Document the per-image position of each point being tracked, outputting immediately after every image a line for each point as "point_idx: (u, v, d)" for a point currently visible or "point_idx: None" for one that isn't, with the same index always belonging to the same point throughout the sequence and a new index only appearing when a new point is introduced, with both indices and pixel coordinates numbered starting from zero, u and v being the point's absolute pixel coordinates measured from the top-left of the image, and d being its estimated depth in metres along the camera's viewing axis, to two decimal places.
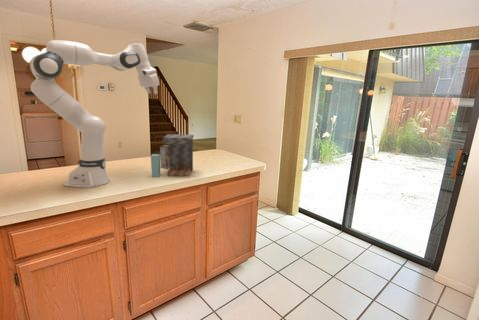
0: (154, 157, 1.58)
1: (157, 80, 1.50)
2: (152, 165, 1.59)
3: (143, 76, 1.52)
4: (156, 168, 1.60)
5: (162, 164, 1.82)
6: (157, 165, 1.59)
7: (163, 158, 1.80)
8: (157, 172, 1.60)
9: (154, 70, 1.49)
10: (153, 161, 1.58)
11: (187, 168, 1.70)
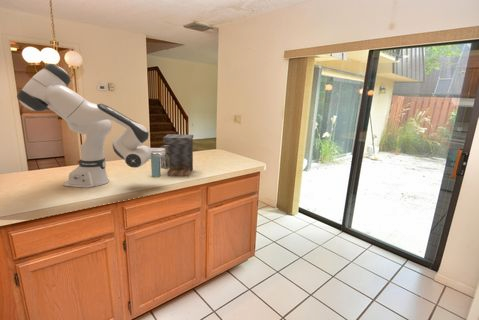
0: (154, 157, 1.58)
1: None
2: (152, 165, 1.59)
3: None
4: (156, 168, 1.60)
5: (162, 164, 1.82)
6: (157, 165, 1.59)
7: (163, 158, 1.80)
8: (157, 172, 1.60)
9: None
10: (153, 161, 1.58)
11: (187, 168, 1.70)
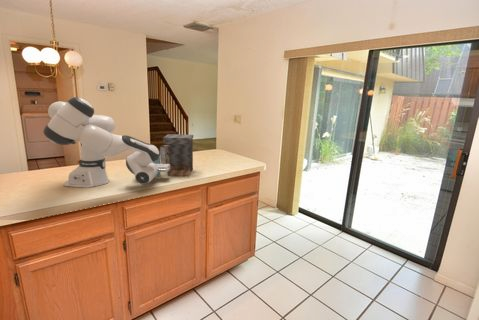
0: None
1: None
2: None
3: None
4: None
5: None
6: None
7: (163, 158, 1.80)
8: None
9: None
10: None
11: (187, 168, 1.70)
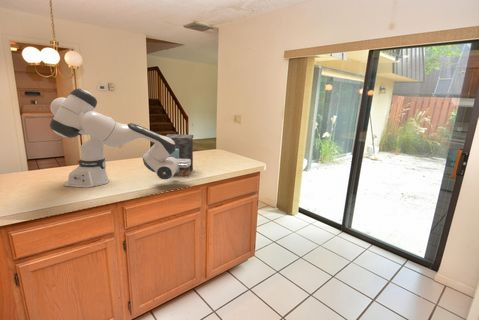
0: (173, 152, 1.48)
1: None
2: None
3: None
4: None
5: None
6: None
7: None
8: None
9: None
10: (173, 156, 1.48)
11: (187, 168, 1.70)
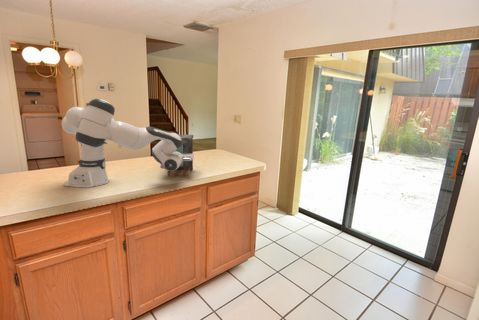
0: None
1: None
2: None
3: None
4: None
5: (162, 164, 1.82)
6: None
7: None
8: None
9: None
10: (177, 151, 1.63)
11: (187, 168, 1.70)
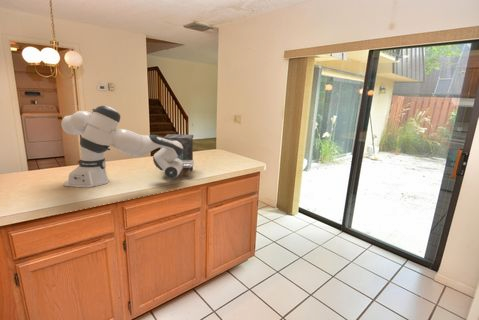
0: None
1: None
2: None
3: None
4: None
5: None
6: None
7: None
8: None
9: None
10: None
11: (187, 168, 1.70)
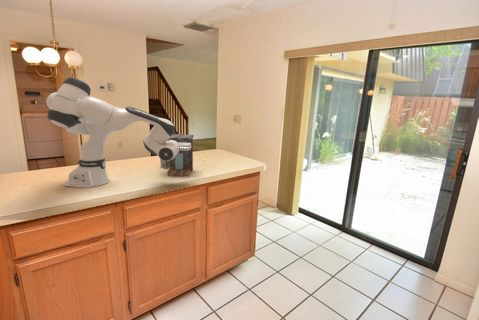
0: (178, 155, 1.65)
1: None
2: (176, 162, 1.66)
3: None
4: (180, 165, 1.66)
5: (162, 164, 1.82)
6: (181, 162, 1.66)
7: None
8: (181, 169, 1.67)
9: None
10: (177, 159, 1.65)
11: (187, 168, 1.70)
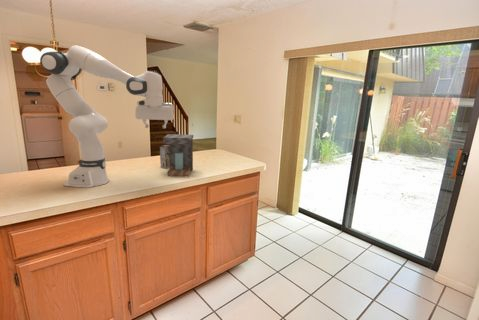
0: (178, 155, 1.65)
1: None
2: (176, 162, 1.66)
3: None
4: (180, 165, 1.66)
5: (162, 164, 1.82)
6: (181, 162, 1.66)
7: (163, 158, 1.80)
8: (181, 169, 1.67)
9: None
10: (177, 159, 1.65)
11: (187, 168, 1.70)
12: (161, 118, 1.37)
